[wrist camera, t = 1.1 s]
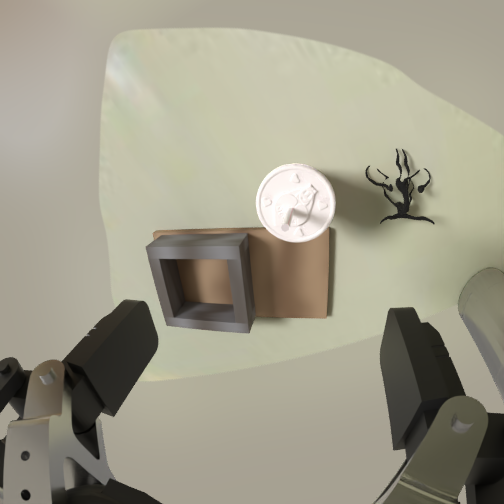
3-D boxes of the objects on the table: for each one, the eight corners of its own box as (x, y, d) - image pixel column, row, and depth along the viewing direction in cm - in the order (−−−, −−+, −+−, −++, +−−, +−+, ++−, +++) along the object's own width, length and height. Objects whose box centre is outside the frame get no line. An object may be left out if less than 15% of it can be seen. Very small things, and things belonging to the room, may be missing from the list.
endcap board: (328, 226, 32) (330, 243, 27) (326, 313, 36) (326, 338, 32) (156, 230, 37) (136, 244, 32) (174, 306, 41) (159, 326, 37)
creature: (362, 149, 29) (365, 220, 30) (370, 140, 24) (374, 225, 25) (425, 153, 27) (427, 221, 28) (443, 146, 22) (446, 226, 23)
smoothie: (260, 184, 32) (222, 221, 19) (299, 143, 29) (289, 150, 16) (301, 223, 32) (291, 284, 20) (341, 184, 30) (361, 223, 17)
